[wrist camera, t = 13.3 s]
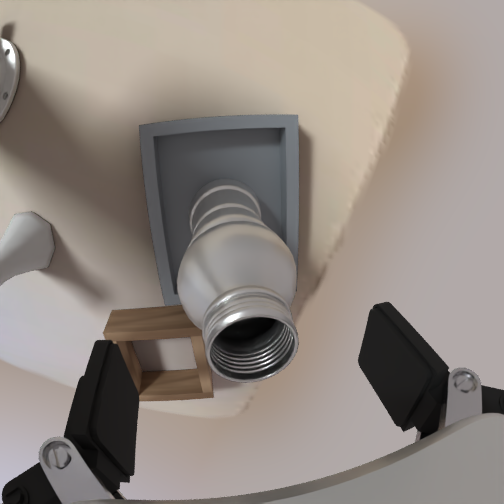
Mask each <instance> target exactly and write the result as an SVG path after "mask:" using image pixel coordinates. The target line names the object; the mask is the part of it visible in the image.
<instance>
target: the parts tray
mask: <svg viewBox="0 0 504 504" xmlns="http://www.w3.org/2000/svg"><path fill="white" fill-rule="evenodd" d="M139 133H140V146H141V157H142V167H143V176H144V184H145V193H146V200H147V208H148V215H149V222H150V228H151V234H152V240H153V246H154V252H155V258H156V263H157V269H158V274H159V279H160V284H161V289H162V294H163V298H164V303H165V306H166V305H178V304H181V301H180V298H179V294H178V290H177V278H178V272H179V268H180V265H181V261H182V259H183V257H184V254H185V252H186V250H187V248H188V246H189V244H190V242H191V240H192V232H191V229H190V225H189V220H188V212H189V208H190V204H191V202H192V199H193V198H194V196H195V195H196V193H197V192H198V191H199V190H200V189H201V188H202V187H204V186H205V185H207V184H208V183H210V182H212V181H214V180H218V179H233V180H237V181H240V182H242V183H244V184H246V185H247V186H248V187H250V188H251V190H252V191H253V192H254V193H255V195H256V196H257V198H258V201H259V204H260V210H261V220H262V221H263V223H264V224H265V225H266V226H267V227H268V228H270V229H271V230H272V231H273V232H275V233H276V234H277V235H278V236H279V237H280V238H281V240H282V241H283V242H284V243H285V244H286V245H287V247H288V248H289V250H290V252H291V254H292V255H293V258H294V261H295V265H296V291H297V268H298V231H299V132H298V115H237V116H218V117H205V118H193V119H183V120H174V121H166V122H158V123H151V124H144V125H139ZM296 291H295V292H296Z"/></svg>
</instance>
